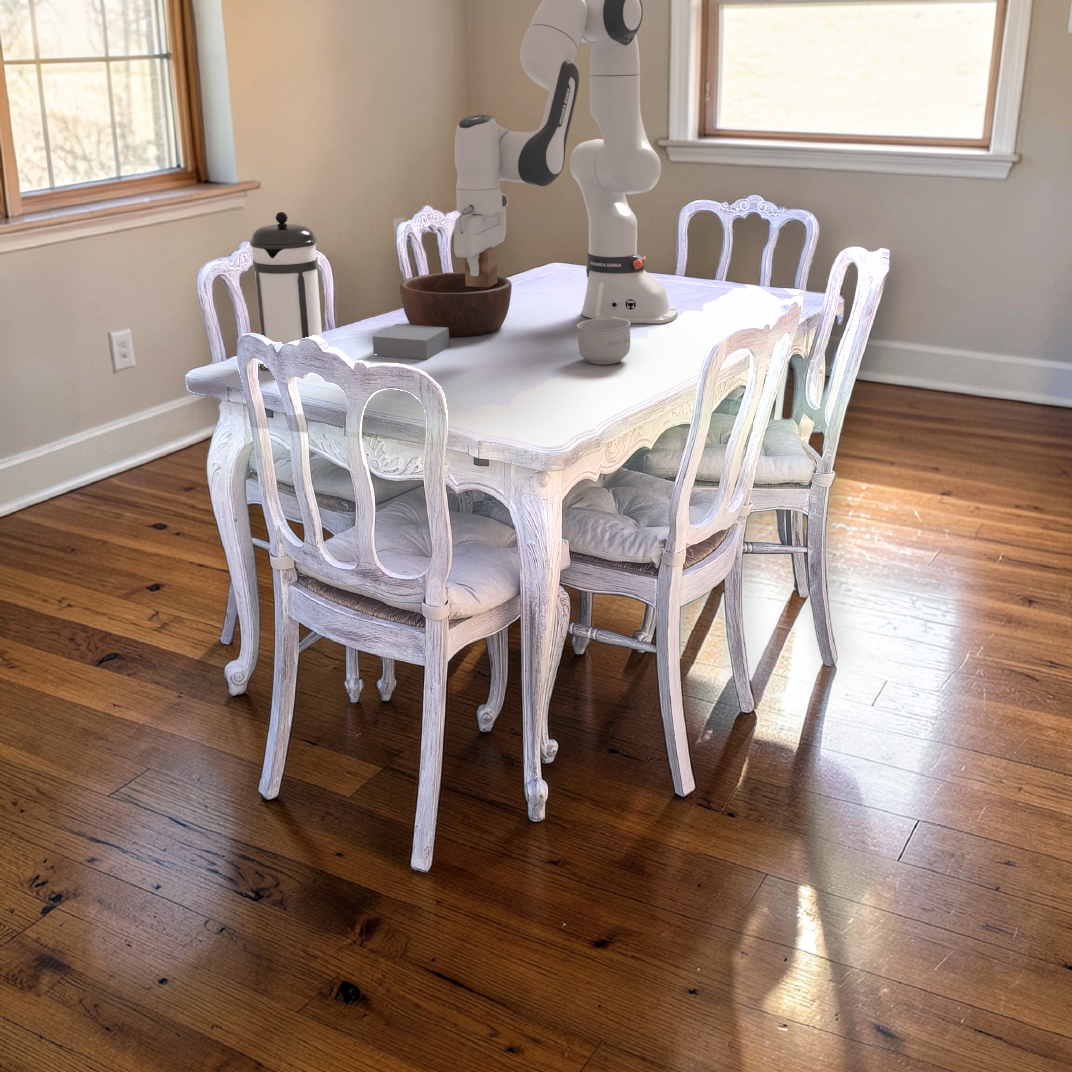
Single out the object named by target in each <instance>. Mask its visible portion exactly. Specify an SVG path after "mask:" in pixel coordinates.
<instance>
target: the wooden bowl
mask: <svg viewBox="0 0 1072 1072" xmlns="http://www.w3.org/2000/svg"><path fill="white" fill-rule="evenodd" d="M399 284H400V285H399V293H400V298H401V305H402V308H403V311H404V314H405V317H406V319H407V321H408V324H409V325H420V326H434V327H448V328H449V338H450V337H451V338H454V337H455V338H456V337H460V338H461V337H472V336H481V335H485V334H490V333H493V332H495V331H497V330H499V329H500V328H501V327H502V325H503V323H504V322H505V320H506V318H507V316H508V313H509V308H510V302H511V299H512V298H511V296H512V287H513V286H512V285H513V284H512V282H511V280H510V279H508V278H506V277H504V276H501V275H497V283H495V284H494V285H492V286H490V287H475V286H466V282H465V271H464V272H462V271H461V272H458V271H457V272H455V271H454V272H439V273H437V272H436V273H428V274H423V275H422V274H421V275H417V276H412V277H409V278H407V279H404V280H402V281H401V282H400V283H399Z"/></svg>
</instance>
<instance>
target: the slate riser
mask: <svg viewBox="0 0 1072 1072" xmlns="http://www.w3.org/2000/svg"><path fill="white" fill-rule="evenodd" d="M372 346H373V347H372V349H373V355H374V354H377V355H382V356H381V357H387V356H392V357H391V358H400V357H401V358H400V359H402V358H403V359H412V358H413V360H424V361H425V360H426V361H428V360H430V359H431V358H432V357H434V356H436V355H438V354H439V353H441V352H442V351H444V350H445V349H447V348H449V347H450V337H449V328H448V327H434V326H420V325H410V324H406V323H405V324H404V323H396V324H394V325H391V326H390V327H388V328H386V329H384V330H382V331H380V332H377V334H374V335H372Z"/></svg>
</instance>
